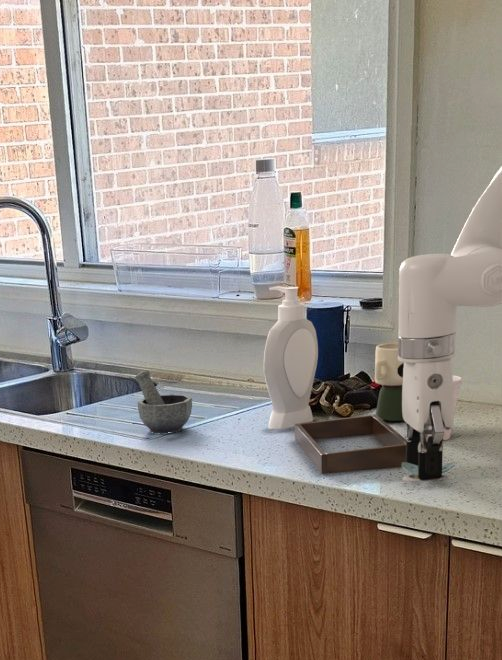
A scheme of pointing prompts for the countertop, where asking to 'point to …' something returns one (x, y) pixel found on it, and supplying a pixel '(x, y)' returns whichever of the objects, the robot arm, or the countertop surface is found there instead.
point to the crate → (352, 459)
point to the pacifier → (414, 473)
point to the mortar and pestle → (162, 407)
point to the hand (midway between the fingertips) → (423, 471)
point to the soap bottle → (290, 363)
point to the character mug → (389, 381)
